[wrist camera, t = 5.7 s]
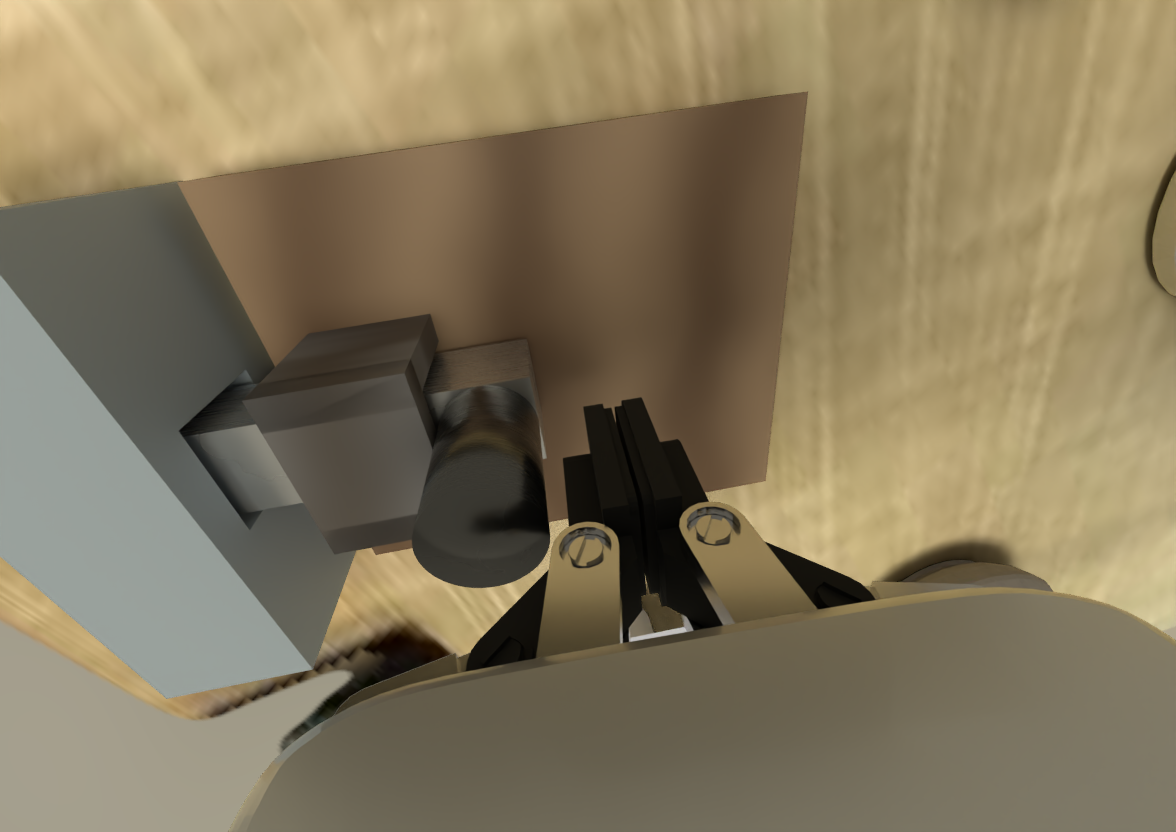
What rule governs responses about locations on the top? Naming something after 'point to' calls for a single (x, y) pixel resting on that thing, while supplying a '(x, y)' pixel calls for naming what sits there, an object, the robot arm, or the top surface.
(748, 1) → the top surface
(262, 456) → the bolt
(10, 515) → the block
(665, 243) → the door panel
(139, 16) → the top surface
